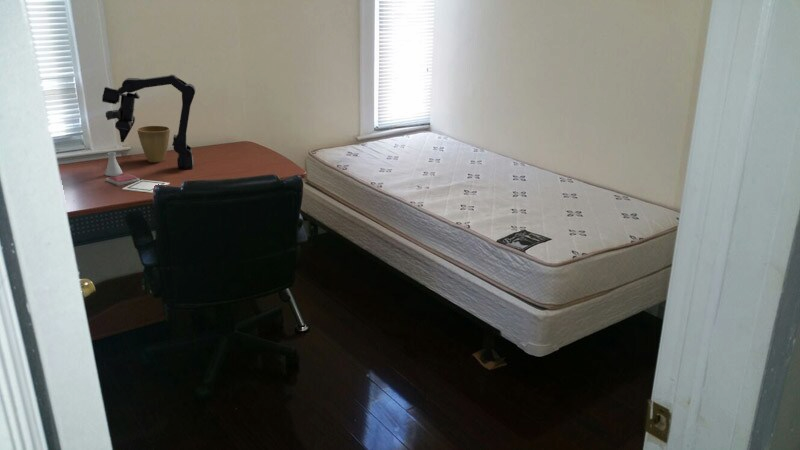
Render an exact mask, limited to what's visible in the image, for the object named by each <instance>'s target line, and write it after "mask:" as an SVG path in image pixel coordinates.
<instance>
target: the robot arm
mask: <svg viewBox="0 0 800 450" xmlns="http://www.w3.org/2000/svg"><path fill="white" fill-rule="evenodd" d="M169 85H171V86H172V87H174V88H175V89H176V90H178V91H179V92H180V93H181V103H182V104H181V110H180V118H179V123H178V124H179V125H178V132H177V134H173V137H172V138H173V139H172V140H173V141H172V145H171V146H173V150H174V151H175V152H176V153H177V154H178V156H177V160H176V161H177V162H176V163H177V167H178V170H193V168H194V167H195V163H194V155H193V153H192V149H193V148H192V147H191V146H189V145H188V135H187V132H188V124H189V118H190V113H191V112H190V111H191V105H192V103H193V100H194V97H195V95H196V87H195V86H194V84H192V83H187V82H186V81H184V80H182V79H181V78H179V77H177V76H176V75H175V74H170V75H161V76H156V77H148V78H138V77H127V78H125V79H124V80H123V81H122V83H121V86H120V87H118V88H111V87H108V86H105V87H104V90H103V94H102V97H101V98H102V103H107V104H111V105H117V103H120V104H119V108H118V109H113V110H108V111H105V117H106V120H107V121H110V120H113V119H114V120H115V119H117V120H116V121H115V124H114V125H115V126H114V128H115V129H116V130H118V132H119V138H120V142H121V143H124V142H125V141H126V138H127V137H128V135H129V133H130V131H131V129H132V128H133V126H134V124H135V122H136V116H134V112H135V102H136V101H135V100H136V99H137V100H138V99H140V97H141V96H140V95H139V94H138V92H137V91H140V90H142V89H145V88H151V87H152V88H153V87H159V86H169ZM134 92H135V93H134Z"/></svg>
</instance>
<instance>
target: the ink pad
mask: <svg viewBox="0 0 800 450" xmlns="http://www.w3.org/2000/svg"><path fill="white" fill-rule="evenodd" d="M105 181H106V182H108V183H110V184H113V185H116V186H124V185H127V184H128V185H129V184H133V183H135V182H138V181H140V178H139V177H138V176H137V177H136V176H135V175H131V174H129V173H125V174H123V173H122V174H121V175H118V176H109V177H106V178H105Z"/></svg>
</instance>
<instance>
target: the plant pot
mask: <svg viewBox="0 0 800 450" xmlns="http://www.w3.org/2000/svg"><path fill="white" fill-rule="evenodd" d="M136 130H137V135H138V139H139V142H140V145H141V148H142V150H143V153H144V155H145V157H146V160H147V161H148V162H149V163H162V162H164V161H165V158H166V156H167V152H168V147H169V141H170V134H171V133H170V132H171V127H169V126H164V125H148V126H147V125H146V126H140V127H138V128H137V129H136Z"/></svg>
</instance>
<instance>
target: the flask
mask: <svg viewBox="0 0 800 450" xmlns="http://www.w3.org/2000/svg"><path fill="white" fill-rule="evenodd" d="M107 155H108V161H107V166H106V169H105V173H104V176H107V177H108V176H109V177H114V176H118V175H123V171H122V168H121V167H120V165H119V163H118V160H117V159H116V158H117V157H116V152H115V151H114V152H113V151H111V152H108V153H107Z"/></svg>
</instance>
